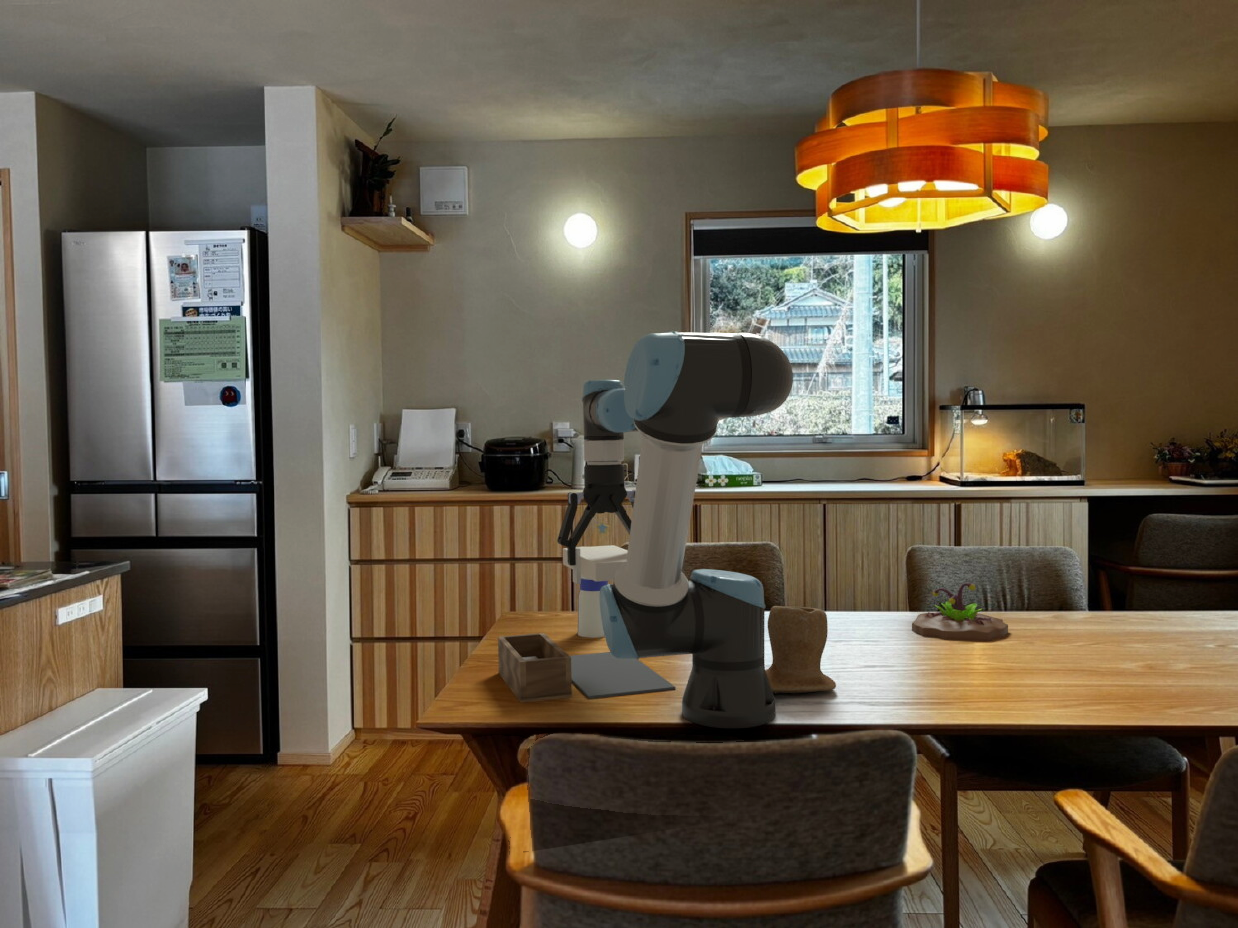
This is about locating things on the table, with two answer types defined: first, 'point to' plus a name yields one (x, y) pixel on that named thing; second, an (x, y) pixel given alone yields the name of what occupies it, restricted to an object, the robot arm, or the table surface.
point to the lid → (599, 561)
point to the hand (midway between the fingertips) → (605, 580)
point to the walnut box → (534, 667)
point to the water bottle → (590, 603)
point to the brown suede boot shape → (797, 650)
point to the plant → (959, 621)
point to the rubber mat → (614, 676)
